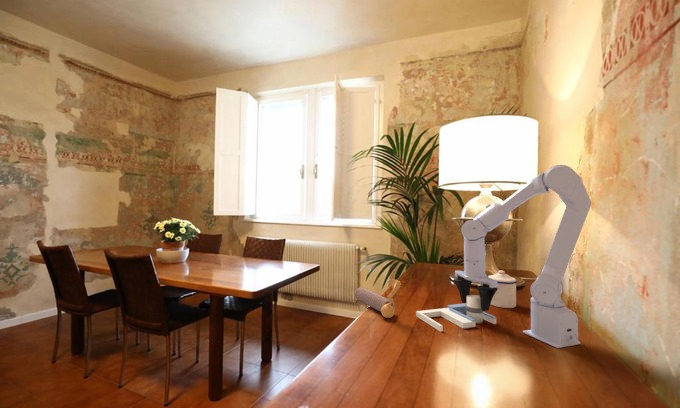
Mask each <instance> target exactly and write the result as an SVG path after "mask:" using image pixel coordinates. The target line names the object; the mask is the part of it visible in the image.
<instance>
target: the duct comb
mask: <svg viewBox="0 0 680 408" xmlns="http://www.w3.org/2000/svg"><path fill="white" fill-rule="evenodd" d="M466 304H467V303H457V304H456V303H454V304H448V305H447V304H446V307H443V308H436V309H435V308H434V309H425V310H424V309H423V310H416V311H415V316H416V317H417V318H418V319H420V320H422V321H423V322H424V323H426V324H427V325H429V326H431V327H432V328H434V329H435V330H437V331H438V332H443V331H444V330H443V329H444V326H443V324H440V322H437V321H435V320H434V319H432V318H434V317H435V318H436V317H442V318H443V319H445V320H447V321H449V322H451V323H452V324H454V325H456V326H458V327H459V328H462V329H469V328H475V327H476V323H475V320H474V319H472V318H470V317H468V316H467V310H466ZM484 320H485V321H487V322H489V323H491V324H493V325H497V317H496V316H494V315H492V314H491V313H488V312H486V311H483V321H484Z"/></svg>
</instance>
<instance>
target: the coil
mask: <svg viewBox="0 0 680 408" xmlns="http://www.w3.org/2000/svg"><path fill="white" fill-rule="evenodd" d="M354 297H355V299H356V300H357V301H359V302H361V303H363V304H364V305H366V306H369V307H370V306H371V308H372V309H374V310H376V311H378V312H379V313H381V309H382V307H383V306H384V305H385V304H388V303H390V302H391V301H390V300H389V299H388V297H385V296H382V295H381V294H378V293H375V292H374V291H371V290H369V289H367V288H364V287H358V288H357V289H356V290H355V291H354ZM395 305H396V304H395V303H394V301H393V302H392V303H391V306H393V308H394V310H395V308H396V306H395Z"/></svg>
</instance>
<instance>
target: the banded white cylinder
mask: <svg viewBox="0 0 680 408" xmlns="http://www.w3.org/2000/svg"><path fill="white" fill-rule="evenodd" d="M465 304H466V310H467V313H466V316H468V317H470V318H472V319H474V320H475V324H483V323H484V319H483V312H484V311H482V310H481V303H480V295H476V294H470V295H467V303H465Z"/></svg>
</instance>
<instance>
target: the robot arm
mask: <svg viewBox="0 0 680 408" xmlns="http://www.w3.org/2000/svg"><path fill="white" fill-rule="evenodd" d="M549 189H550V190H552V191H553V192H554V193H555V194H557V195H558V197H559V198H560V199H561V200H562V202H563V204H564V205H565V209H564V212H563V214H562V216H561V217H562V218H561V220H560V223H559V225H558V228H557V230H556V233H555V236H554V238H553V242H552V244H551V245H550V249H549V251H548V255H547V258H546V260H545V262H544V265H543V267H542V269H541V272H540V274H539V276H537V277H536V278H535V280H534V281H533V282H532V284H531V285H530V288H529V289H530V295H531V296H532V297H530V329H526V330H522V333H523V334H524V335H527V336H530V337H532V338H534V339H536V340H539V341H541V342H543V343H545V344H548V345H550V346H552V347H554V348H557V349H560V348H566V347H571V346H576V345H581V341H580V340H579V319H578V318H579V317H578V315H577V314H576V312H575V311H573V310H572V309H569V308H567V307H566V304H565V301H563V298H561V296H562V293H563V291H564V283H563V278H564V275H565V273H566V271H567V269H568V265H569V263H570V261H571V258H572V255H573V253H574V250H575V247H576V246H577V242H578V239H579V237H580V234H581V232H582V229H583V228H584V225H585V222H586V220H587V217H588V214H589V211H590V209H591V206H592V201H591V198H590V195H589V194H588V191H587V189H586V187H585V185H584V182H583V180H582V177H581V176H580V175H579V174H578V173H577V172H576V171H575V170H574V169H573V168H572V167H570V166H569V165H565V164H556V165H553V166H551V167H549V168H548V169H547V170H546V171H545V172H541V173H539V174H538V175H537V176H535V177H534V178H532V179H531V180H529V181H528V182H526V183H525V184H524V185H523V186H521V188H519V189H518V190H516V191H515V192H514V193H513V194H511V195H510V196H509V197H507V198H506V199H505V200H504V201H502V202H501V203H498V202H497V203H496V202H493V203H492V204H490V203H489V204H487V205H486V206H485V209H484V210H483V211H481V212H480V213H479V214H477V215H476V214H474V215H473V216H472V219H469V220H466V221H465V222H464V223H463V224H462V226H461V234H462V236H463V267H464V268H463V270H454V277H455V278H454V280H453V281H454V283H455V286H456V288H457V290H458V292H459V296H460V300H461V304H463V303H465V304H467V295H471V293H470V292H471V286H472V283H473V282H474V283H477V284H479V285H478V286H477V285H476V289H477V291H478V294H479V295H478V296H480V303H481V310H482V311H483V312H488V311H490V306H491V300H492V298H493V296H494V294H495V293H496V291H497V290H498V287H497V280H494V279H491V278H489V277H488V275H487V274H486V245H485V237H486V236H487V234H488V232H490V233H491V231H493V230H494V229H496V228H497V227H499V226H500V225H502V223H505V222H506V221H507V220H509V219H510V218H509V217H510V212H512V211H513V210H515V209H517V208H518V207H519V206H521V205H522V204H524V203H525V202H527V201H529V200H530V199H532V198H533V197H534V196H537V195H543V194H549V193H550V190H549ZM480 284H483V286H480Z"/></svg>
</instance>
